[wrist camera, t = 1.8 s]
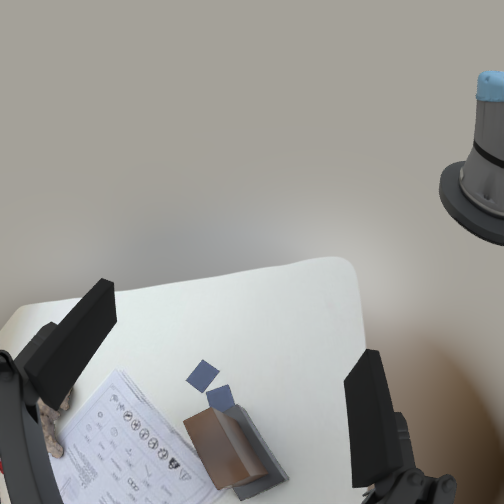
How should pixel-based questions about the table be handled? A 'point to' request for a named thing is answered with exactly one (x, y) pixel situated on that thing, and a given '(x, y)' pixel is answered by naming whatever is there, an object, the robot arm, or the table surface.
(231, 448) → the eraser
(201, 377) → the pair of blue tiles
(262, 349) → the table surface
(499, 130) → the robot arm
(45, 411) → the rock
